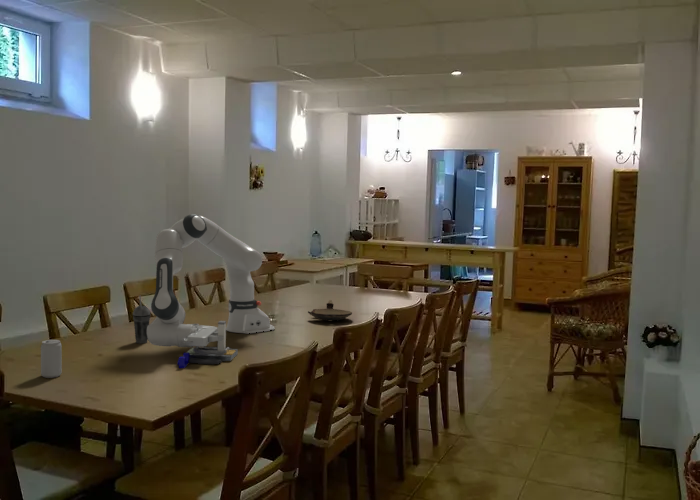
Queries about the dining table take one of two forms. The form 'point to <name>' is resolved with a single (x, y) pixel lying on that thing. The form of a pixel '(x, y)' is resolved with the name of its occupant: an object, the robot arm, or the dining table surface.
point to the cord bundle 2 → (205, 361)
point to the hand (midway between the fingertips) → (224, 337)
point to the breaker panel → (212, 353)
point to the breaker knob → (222, 333)
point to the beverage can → (51, 358)
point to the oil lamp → (330, 313)
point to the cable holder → (184, 360)
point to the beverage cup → (141, 322)
